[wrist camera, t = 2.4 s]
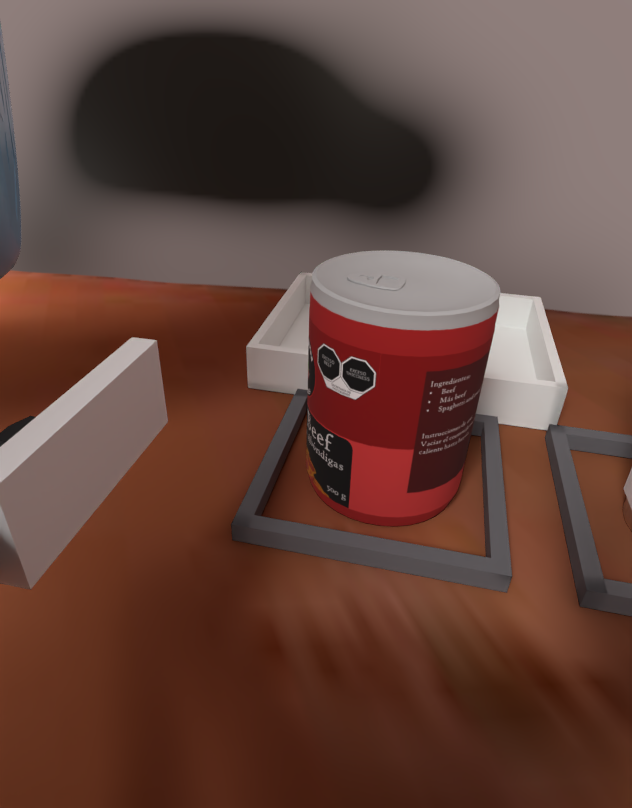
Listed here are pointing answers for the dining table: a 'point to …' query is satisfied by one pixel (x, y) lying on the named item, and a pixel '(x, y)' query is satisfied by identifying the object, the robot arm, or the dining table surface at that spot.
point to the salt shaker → (627, 513)
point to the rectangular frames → (439, 561)
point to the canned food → (394, 380)
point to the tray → (504, 377)
